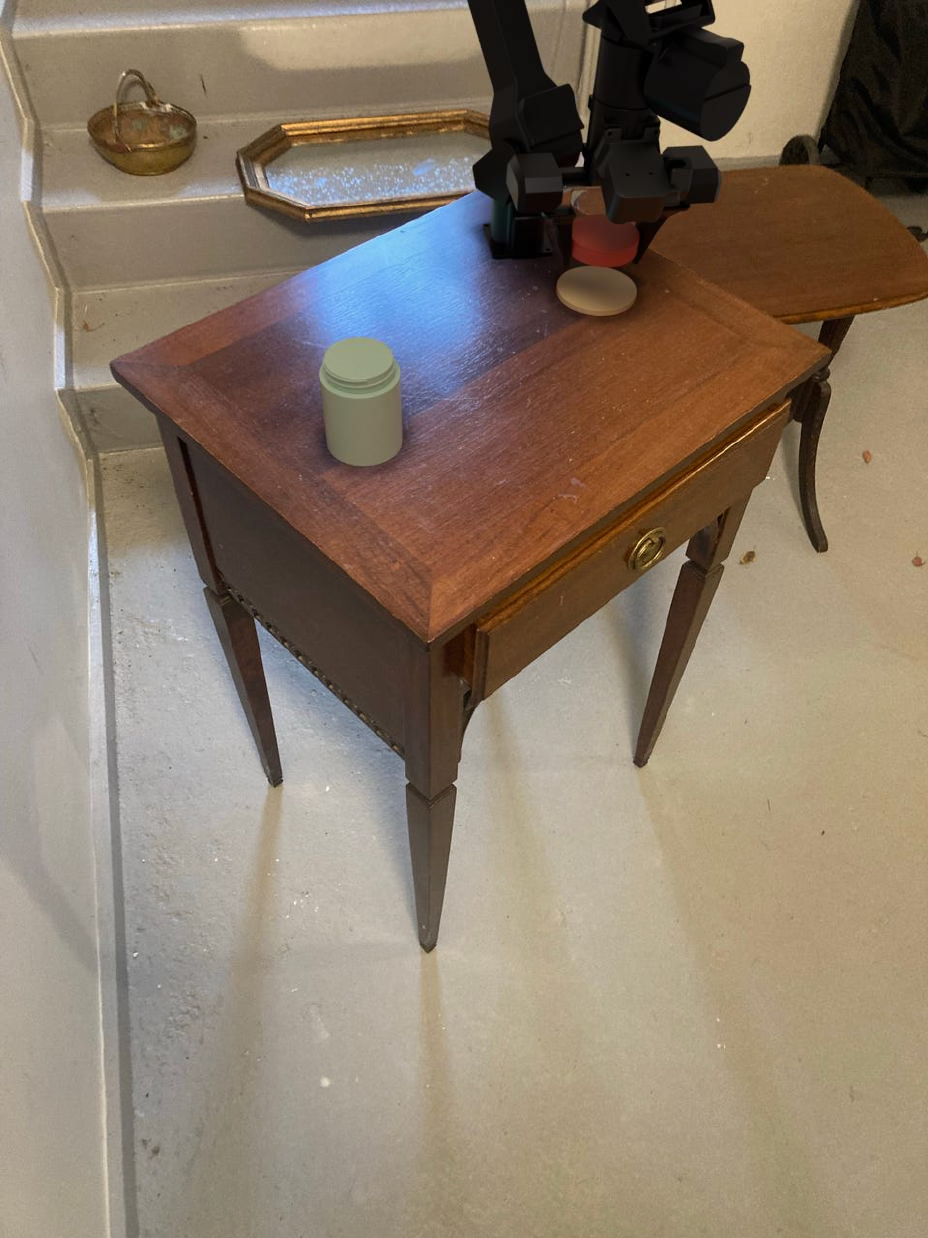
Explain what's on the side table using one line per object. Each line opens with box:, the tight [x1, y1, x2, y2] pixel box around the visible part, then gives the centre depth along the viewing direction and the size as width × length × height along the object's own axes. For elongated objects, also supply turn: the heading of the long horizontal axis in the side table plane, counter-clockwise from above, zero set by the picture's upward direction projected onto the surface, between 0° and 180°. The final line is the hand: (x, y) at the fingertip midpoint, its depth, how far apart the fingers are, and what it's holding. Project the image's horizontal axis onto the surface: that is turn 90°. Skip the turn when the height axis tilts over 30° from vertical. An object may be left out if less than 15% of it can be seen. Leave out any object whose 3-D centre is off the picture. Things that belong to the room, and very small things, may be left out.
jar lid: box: [571, 213, 640, 268], centre depth 89 cm, size 7×7×2 cm
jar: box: [318, 336, 404, 467], centre depth 75 cm, size 6×6×8 cm
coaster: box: [555, 265, 638, 317], centre depth 93 cm, size 8×8×1 cm
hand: (599, 264), depth 91 cm, fingers closed on jar lid, 6 cm apart
